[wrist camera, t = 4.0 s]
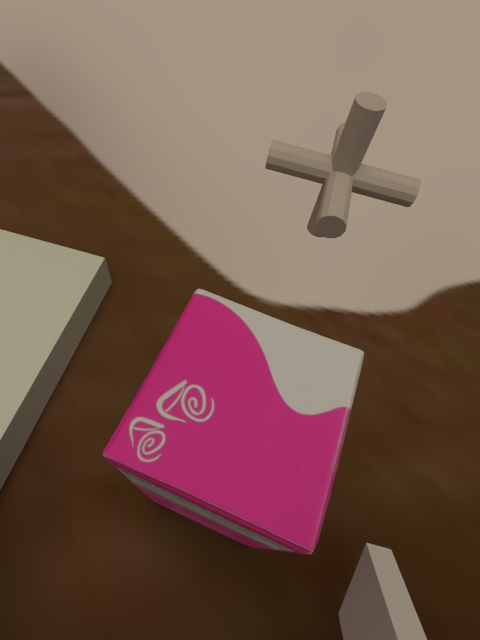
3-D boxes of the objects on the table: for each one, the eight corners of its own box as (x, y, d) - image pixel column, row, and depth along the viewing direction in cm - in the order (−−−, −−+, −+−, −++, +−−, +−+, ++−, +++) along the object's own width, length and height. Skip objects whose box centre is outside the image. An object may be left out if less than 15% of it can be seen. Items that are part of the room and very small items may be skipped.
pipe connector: (270, 172, 32) (300, 39, 24) (384, 203, 32) (455, 79, 24) (241, 258, 27) (265, 127, 19) (376, 295, 27) (463, 180, 18)
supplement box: (194, 397, 22) (199, 278, 12) (291, 439, 21) (379, 350, 11) (144, 500, 19) (94, 455, 9) (254, 552, 18) (330, 565, 8)
